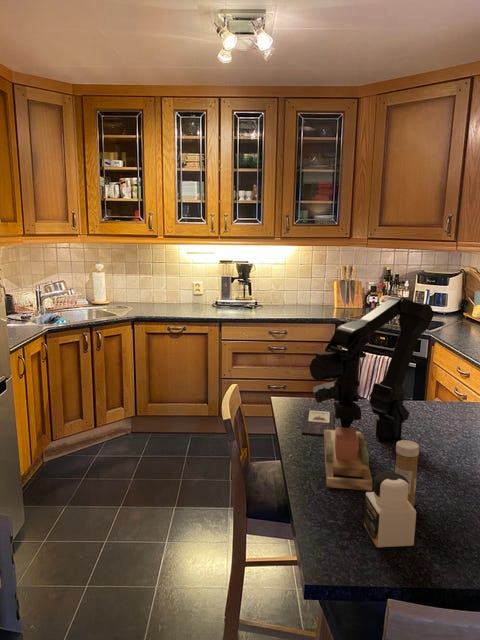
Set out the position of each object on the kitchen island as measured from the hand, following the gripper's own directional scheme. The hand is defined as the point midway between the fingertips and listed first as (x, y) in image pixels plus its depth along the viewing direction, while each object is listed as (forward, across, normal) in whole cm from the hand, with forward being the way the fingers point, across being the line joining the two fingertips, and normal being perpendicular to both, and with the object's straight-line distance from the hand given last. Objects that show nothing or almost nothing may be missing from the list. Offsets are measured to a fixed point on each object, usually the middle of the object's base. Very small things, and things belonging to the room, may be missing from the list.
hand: (344, 432), depth 125 cm
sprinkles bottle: (+5, +23, +11) cm, 26 cm away
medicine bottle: (+5, +35, +6) cm, 36 cm away
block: (+3, +5, 0) cm, 6 cm away
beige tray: (+5, +5, 0) cm, 7 cm away
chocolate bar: (+6, -18, -6) cm, 20 cm away
